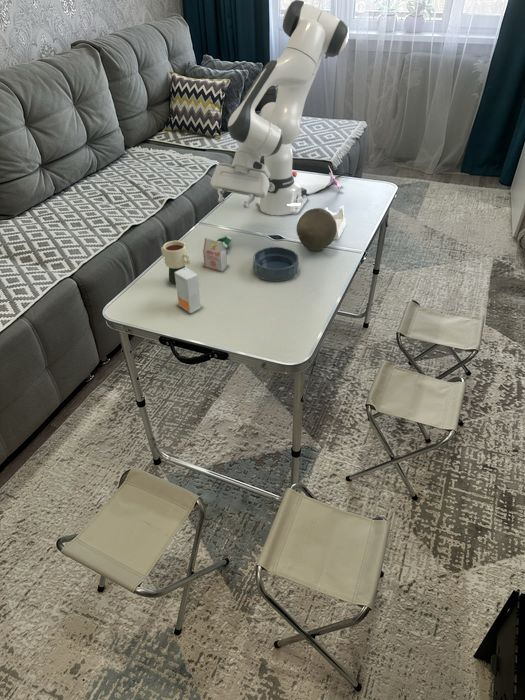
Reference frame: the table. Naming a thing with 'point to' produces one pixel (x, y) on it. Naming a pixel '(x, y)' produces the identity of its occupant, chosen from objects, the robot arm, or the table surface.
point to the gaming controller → (225, 241)
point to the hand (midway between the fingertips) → (232, 204)
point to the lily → (333, 181)
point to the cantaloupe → (316, 229)
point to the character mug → (175, 257)
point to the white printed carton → (214, 255)
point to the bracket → (339, 221)
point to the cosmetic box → (187, 290)
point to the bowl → (275, 263)
